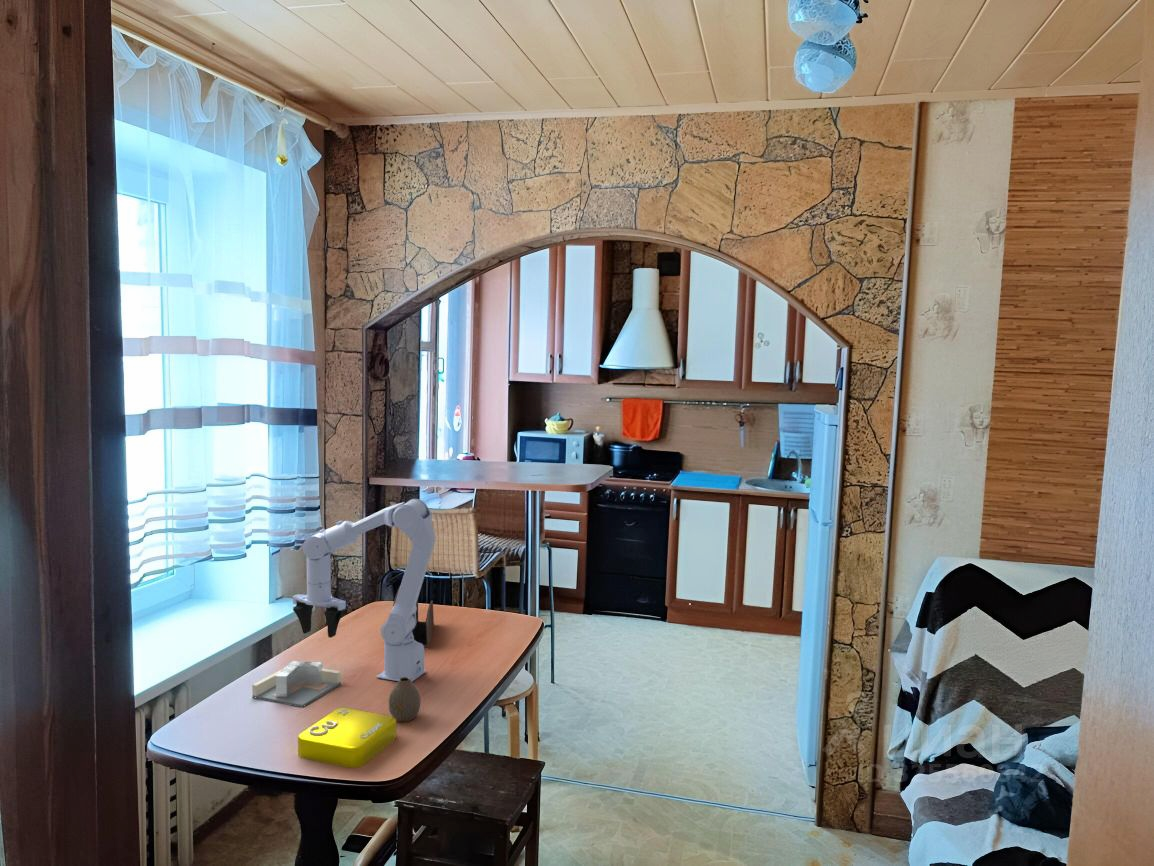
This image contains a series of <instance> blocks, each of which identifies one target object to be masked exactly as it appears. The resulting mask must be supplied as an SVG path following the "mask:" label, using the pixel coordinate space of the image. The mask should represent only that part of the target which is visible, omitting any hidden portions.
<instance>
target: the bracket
mask: <svg viewBox="0 0 1154 866" xmlns="http://www.w3.org/2000/svg"><path fill="white" fill-rule="evenodd" d="M322 668H323V662H322V661H321V662H320V661H301V660H300V661H299V660H298V661H295V660H291V661H290V662H289V663H288V664H287V665H286V666H285V667H284V669H283V668H282V669H283V670H282V671H281V672H280V673H278V674H277V675H276V697H288V696H289V695H290V694H291V693H292V692H293V691H294V689H295V688H296V687H297V686H317V687H319V686H320V685H321V684H322V682H323V674H322Z"/></svg>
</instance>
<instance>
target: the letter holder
mask: <svg viewBox="0 0 1154 866" xmlns="http://www.w3.org/2000/svg"><path fill="white" fill-rule="evenodd" d="M400 586H401V584H400V585H399V587H398V588H397V590H396V591H397V592H396V594H395V597H394V599H393V600H394V601H393V605H392V607H393V606H394V605H395V602H396V599H397V596H398V592H399V589H400ZM416 607H417V610H416V626H415V628H414V629H413V630H412V633H413V636H414V640H415V641H417V642H419V643H421V644H423V646H424V648H428V647H429V646H430V642H431V639H432V635H431V634H433V630H434V626H433V625H435V621H434V620H435V619H434V617H435V616H434V601H433V600H430V602H429V606H428V608H427V613H426V618H425V621H420V620H419V598H418V599H417V602H416ZM428 649H429V648H428Z"/></svg>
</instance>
